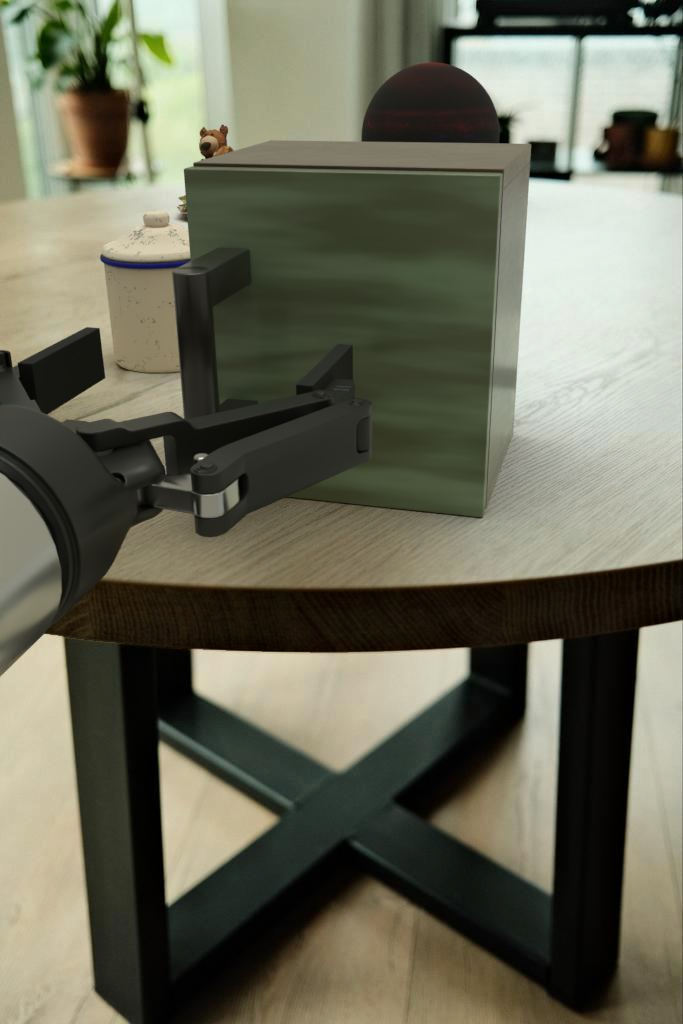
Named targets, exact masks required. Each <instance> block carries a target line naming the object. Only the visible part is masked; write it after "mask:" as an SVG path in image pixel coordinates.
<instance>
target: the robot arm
mask: <svg viewBox="0 0 683 1024" xmlns="http://www.w3.org/2000/svg"><path fill="white" fill-rule="evenodd" d="M102 346H103V345H102V337H101V329H100V327H91V326H90V327H88V326H86V327H84V328H82V329H80V330H78V331H76V332H74V333H73V334H71V335H68V336H66V337H65V338H63V339H61V340H59V341H57V342H55V343H53V344H51V345H49V346H47V347H45V348H43V349H42V350H40V351H37V352H36V353H34V354H32V355H30V356H28V357H26V358H24V359H22V360H20V361H18V362H17V365H14V366H13V361H12V353H11V351H10V350H5V349H0V678H1V677H2V676H3V675H4V674H5V673H6V672H7V671H8V670H9V669H10V668H11V667H12V666H13V665H14V664H15V663H16V662H17V661H18V660H19V659H21V657H22V656H24V654H25V653H26V652H27V651H28V650H30V649H31V648H32V647H33V646H34V645H35V644H36V643H37V642H38V641H39V639H41V638H42V637H43V636H44V635H45V634H46V633H47V632H48V630H49V628H51V627H52V626H54V625H55V624H57V623H58V622H59V621H60V620H61V619H62V618H63V617H65V616H66V614H67V613H68V612H70V611H71V610H72V609H73V607H75V606H76V605H77V604H78V603H79V602H80V601H81V600H82V599H83V598H84V597H85V596H86V595H87V594H88V593H89V592H90V591H91V590H92V589H93V588H95V586H96V585H97V584H98V583H99V582H101V580H102V579H103V578H104V577H105V576H106V574H107V573H108V572H109V570H110V569H111V568H112V566H113V564H114V562H115V561H116V559H117V556H118V555H119V552H120V550H121V548H122V546H123V543H124V541H125V539H126V537H127V535H128V533H129V531H130V530H131V529H132V528H133V527H135V526H138V525H139V524H141V523H143V522H147V521H149V520H152V519H153V518H156V517H157V516H158V515H160V514H161V513H162V512H163V511H164V510H166V511H167V510H168V511H173V512H179V513H184V514H189V515H193V519H194V530H195V534H197V535H198V536H201V537H203V538H217V537H220V536H223V535H224V534H226V533H228V532H229V531H230V530H232V529H233V527H235V526H236V525H237V524H238V523H239V522H241V521H242V520H243V519H244V518H245V517H246V516H247V515H249V514H250V513H253V512H255V511H257V510H260V509H262V508H264V507H267V506H268V505H272V504H273V503H276V502H279V501H281V500H283V499H285V498H288V497H287V496H289V495H292V494H294V493H296V492H299V491H301V490H303V489H305V488H308V487H310V486H312V485H314V484H317V483H319V482H321V481H324V480H326V479H328V478H330V477H333V476H335V475H337V474H339V473H342V472H344V471H346V470H349V469H351V468H353V467H355V466H358V465H360V464H362V463H364V462H367V461H369V460H370V459H371V458H372V402H371V401H369V400H367V399H362V398H355V383H354V380H353V345H346V344H337V345H336V346H335V347H334V348H333V349H332V350H331V351H330V352H329V353H328V354H327V355H326V356H325V357H324V358H323V359H322V360H321V361H320V362H319V363H318V364H317V365H316V366H315V367H314V368H313V369H312V370H311V371H310V372H308V373H307V374H306V375H305V376H304V377H303V378H302V379H301V380H300V381H299V382H298V383H297V384H296V395H295V396H291V397H286V398H282V399H277V400H273V401H268V402H264V403H259V404H255V405H250V406H246V407H241V408H237V409H232V410H228V411H223V412H219V413H214V414H210V415H205V416H201V417H196V418H192V419H187V420H185V419H184V417H182V416H181V415H179V414H178V413H176V412H173V411H163V412H159V413H154V414H149V415H145V416H140V417H137V418H132V419H127V420H123V421H116V420H114V419H111V418H102V419H98V420H92V421H87V420H77V419H65V420H64V421H60V420H58V419H56V418H54V417H52V416H51V415H49V414H51V413H52V412H54V411H55V410H57V409H59V408H61V407H62V406H63V405H65V404H66V403H68V402H70V401H71V400H73V399H75V398H76V397H78V396H79V395H81V394H82V393H84V392H86V391H87V390H89V389H90V388H92V387H93V386H95V385H97V384H98V383H100V382H102V381H104V380H105V379H106V373H105V363H104V354H103V347H102ZM158 438H159V439H160V438H162V440H163V441H162V442H163V449H164V462H165V466H164V463H163V462H162V460H161V459H160V457H159V455H158V453H157V451H156V449H155V447H154V445H153V444H152V441H151V440H155V439H158Z"/></svg>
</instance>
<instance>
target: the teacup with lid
mask: <svg viewBox="0 0 683 1024" xmlns="http://www.w3.org/2000/svg"><path fill="white" fill-rule="evenodd" d="M142 222H143V224H142V225H138V226H136V227H133V228H132V229H130V230H129V231H128V232H127V233H125V234H124V235H123V236H121V237H120V238H118V239H114V240H112V241H109V242H108V243H106V244H104V246H103V247H102V249H101V251H100V253H101V254H100V256H99V260H100V261H101V262H102V264H103V268H104V276H105V286H106V294H107V302H108V303H107V304H108V312H109V320H110V321H109V322H110V330H111V331H110V332H111V339H112V347H113V357H114V360H115V362H116V363H117V365H118V366H119V367H121V368H123V369H124V370H125V369H126V370H128V371H133V372H137V373H147V374H170V373H180V364H179V352H178V341H177V329H176V317H175V305H174V293H173V281H172V271H173V270H174V269H176V268H178V267H180V266H182V265H184V264H186V263H188V262H190V261H191V259H190V246H189V233H188V229H186V228H184V227H182V226H180V225H177V224H173V223H170V214H169V213H168V212H167V211H165V210H150V211H149V210H148V211H145V212H144V213H143V215H142Z"/></svg>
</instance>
